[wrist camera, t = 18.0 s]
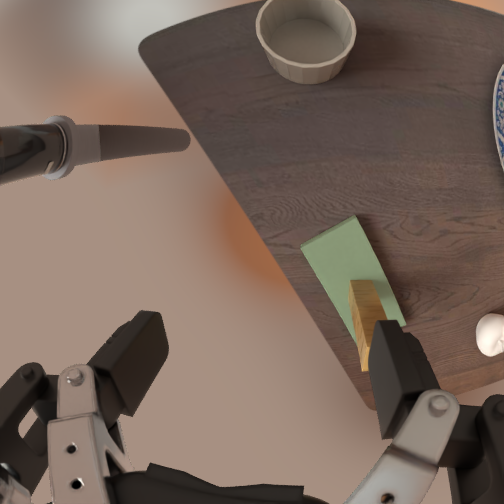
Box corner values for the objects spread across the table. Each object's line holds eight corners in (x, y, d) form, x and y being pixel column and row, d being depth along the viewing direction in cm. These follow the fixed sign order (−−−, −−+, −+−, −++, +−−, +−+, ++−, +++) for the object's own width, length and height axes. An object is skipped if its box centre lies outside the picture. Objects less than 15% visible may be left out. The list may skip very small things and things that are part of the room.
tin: (269, 86, 31) (259, 70, 24) (263, 19, 28) (252, -8, 21) (349, 85, 29) (361, 68, 22) (341, 18, 26) (348, -10, 19)
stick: (347, 300, 37) (361, 371, 25) (349, 279, 36) (367, 347, 24) (369, 299, 37) (391, 369, 24) (371, 279, 36) (397, 345, 23)
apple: (477, 305, 36) (499, 333, 28) (505, 305, 34) (527, 330, 27) (463, 341, 38) (481, 370, 31) (491, 339, 37) (510, 366, 29)
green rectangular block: (300, 244, 38) (300, 248, 36) (354, 214, 35) (356, 217, 34) (357, 342, 41) (358, 348, 40) (403, 319, 39) (406, 324, 37)
